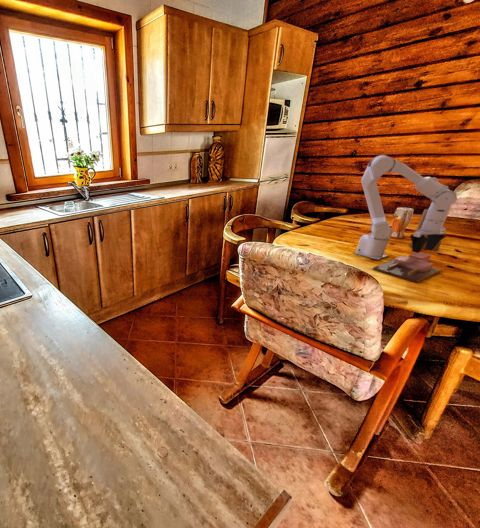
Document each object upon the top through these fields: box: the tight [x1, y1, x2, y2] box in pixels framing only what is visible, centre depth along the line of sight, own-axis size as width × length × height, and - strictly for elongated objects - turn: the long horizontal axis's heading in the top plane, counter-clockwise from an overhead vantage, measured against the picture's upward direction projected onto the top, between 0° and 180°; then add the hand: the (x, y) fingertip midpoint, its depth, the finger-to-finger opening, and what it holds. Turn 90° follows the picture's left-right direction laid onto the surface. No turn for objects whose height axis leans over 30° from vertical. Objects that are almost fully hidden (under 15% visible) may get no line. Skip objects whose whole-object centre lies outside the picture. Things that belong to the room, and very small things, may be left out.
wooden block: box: [410, 208, 442, 252], centre depth 129 cm, size 9×4×18 cm, turn 49°
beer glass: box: [389, 206, 415, 239], centre depth 146 cm, size 7×7×15 cm
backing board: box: [373, 255, 441, 284], centre depth 112 cm, size 14×18×4 cm
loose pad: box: [408, 251, 432, 262], centre depth 119 cm, size 4×7×3 cm, turn 115°
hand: (422, 250), depth 118 cm, fingers open, 7 cm apart
